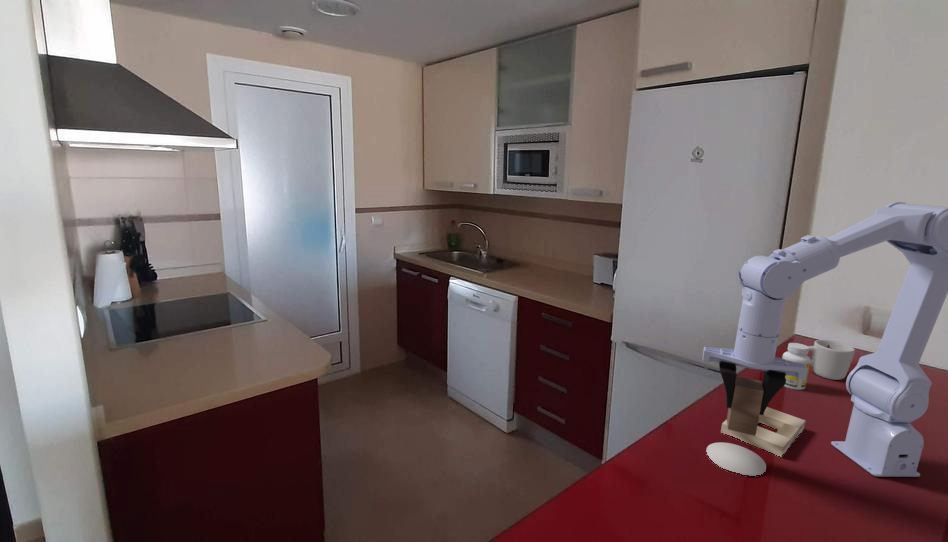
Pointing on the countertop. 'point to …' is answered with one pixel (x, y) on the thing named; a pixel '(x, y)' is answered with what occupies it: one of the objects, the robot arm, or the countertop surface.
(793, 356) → the supplement bottle
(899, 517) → the countertop surface
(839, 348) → the cup
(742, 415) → the plug peg
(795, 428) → the holder block
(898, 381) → the robot arm
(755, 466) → the coaster
